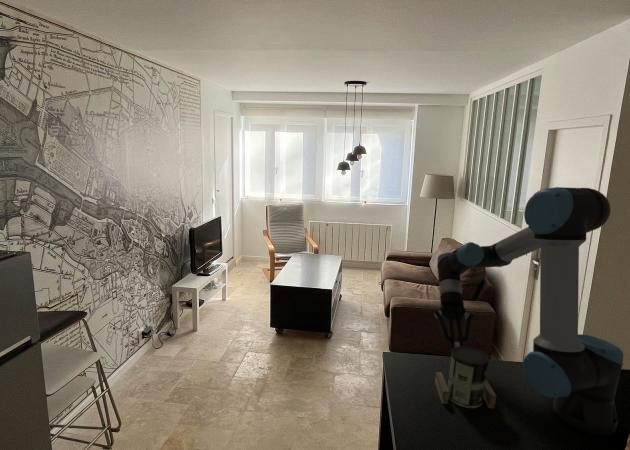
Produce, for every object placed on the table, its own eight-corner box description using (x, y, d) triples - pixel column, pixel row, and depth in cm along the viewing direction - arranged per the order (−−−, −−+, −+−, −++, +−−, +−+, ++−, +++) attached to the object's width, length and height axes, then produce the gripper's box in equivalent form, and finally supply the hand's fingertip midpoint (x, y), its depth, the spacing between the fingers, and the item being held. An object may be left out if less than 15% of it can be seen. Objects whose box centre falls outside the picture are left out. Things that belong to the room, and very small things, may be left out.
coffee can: (479, 390, 125) (485, 348, 122) (485, 411, 115) (492, 366, 112) (444, 384, 127) (449, 343, 124) (448, 405, 117) (454, 360, 114)
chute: (483, 387, 126) (484, 376, 125) (494, 408, 116) (496, 395, 115) (434, 383, 127) (436, 371, 126) (442, 403, 117) (443, 391, 116)
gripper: (467, 300, 144) (475, 368, 131) (430, 297, 145) (434, 364, 132) (473, 291, 138) (482, 362, 125) (434, 288, 139) (439, 358, 126)
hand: (457, 363), depth 129 cm, fingers closed
